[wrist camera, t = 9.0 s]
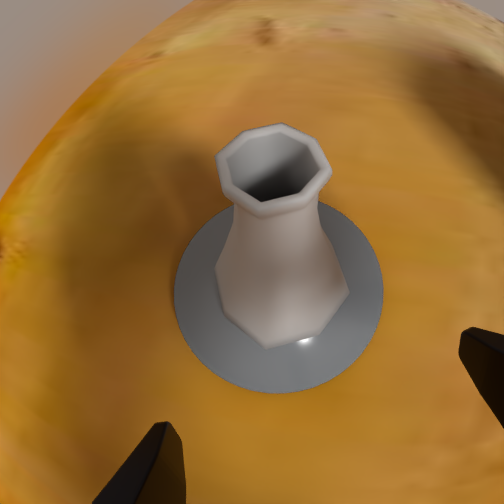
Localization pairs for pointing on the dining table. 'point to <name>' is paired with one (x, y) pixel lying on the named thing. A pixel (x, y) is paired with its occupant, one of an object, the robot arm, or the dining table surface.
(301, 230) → the flask
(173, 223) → the dining table surface
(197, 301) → the slate coaster
